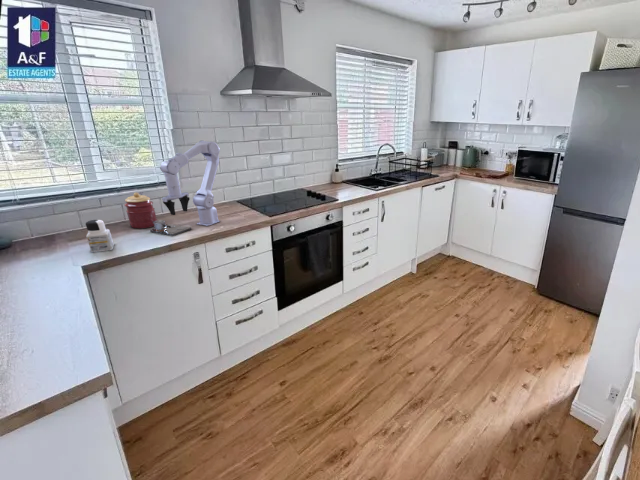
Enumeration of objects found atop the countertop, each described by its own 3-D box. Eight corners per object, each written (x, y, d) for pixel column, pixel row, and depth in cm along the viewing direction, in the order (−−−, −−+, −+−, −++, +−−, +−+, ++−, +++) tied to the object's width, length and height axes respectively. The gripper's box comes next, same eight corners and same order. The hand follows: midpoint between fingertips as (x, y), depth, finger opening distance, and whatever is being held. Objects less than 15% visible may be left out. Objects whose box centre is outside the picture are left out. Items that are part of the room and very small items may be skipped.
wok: (161, 227, 195) (159, 219, 193) (176, 229, 192) (174, 221, 190) (151, 230, 190) (149, 222, 188) (166, 232, 187) (164, 224, 185)
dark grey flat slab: (169, 225, 201) (169, 223, 200) (191, 229, 196) (191, 227, 196) (150, 232, 191) (150, 229, 190) (172, 236, 186) (172, 234, 186)
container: (91, 252, 164) (81, 224, 158) (94, 246, 170) (84, 219, 164) (112, 250, 167) (103, 222, 161) (114, 244, 173) (105, 217, 167)
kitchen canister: (154, 228, 196) (145, 195, 188) (126, 229, 193) (117, 195, 185) (161, 221, 207) (153, 189, 199) (135, 222, 204) (126, 190, 196)
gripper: (179, 183, 192) (184, 208, 198) (154, 188, 179) (161, 215, 185) (189, 184, 189) (194, 210, 196) (165, 189, 177) (172, 217, 183)
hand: (179, 213), depth 190 cm, fingers open, 7 cm apart
